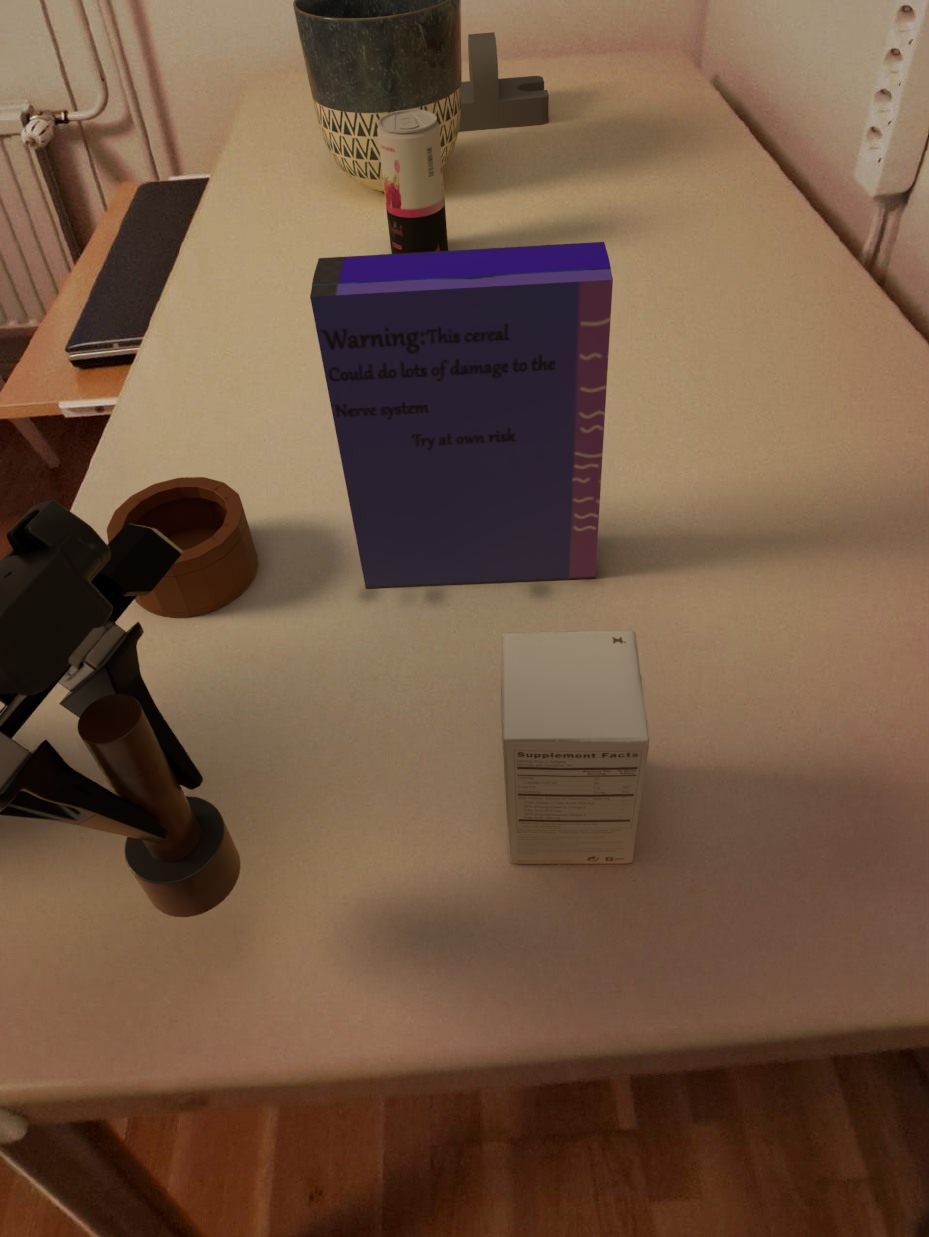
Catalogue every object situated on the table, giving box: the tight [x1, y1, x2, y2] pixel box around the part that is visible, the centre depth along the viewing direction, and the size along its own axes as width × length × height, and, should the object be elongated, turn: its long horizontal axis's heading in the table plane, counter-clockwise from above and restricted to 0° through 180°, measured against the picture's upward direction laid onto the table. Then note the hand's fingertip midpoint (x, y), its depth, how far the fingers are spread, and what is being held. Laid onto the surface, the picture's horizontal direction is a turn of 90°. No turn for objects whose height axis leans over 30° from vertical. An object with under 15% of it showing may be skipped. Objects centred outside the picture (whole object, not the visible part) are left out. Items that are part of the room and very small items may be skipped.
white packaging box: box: [500, 630, 650, 865], centre depth 52 cm, size 7×7×13 cm
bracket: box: [458, 31, 550, 132], centre depth 135 cm, size 10×18×11 cm, turn 93°
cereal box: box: [309, 241, 614, 589], centre depth 64 cm, size 17×5×24 cm, turn 90°
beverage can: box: [377, 109, 449, 254], centre depth 103 cm, size 7×6×15 cm
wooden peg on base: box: [77, 694, 241, 918], centre depth 43 cm, size 5×5×13 cm
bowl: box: [106, 476, 259, 618], centre depth 72 cm, size 10×10×6 cm
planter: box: [292, 0, 462, 192], centre depth 116 cm, size 20×20×21 cm
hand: (181, 811), depth 43 cm, fingers closed on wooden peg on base, 2 cm apart
